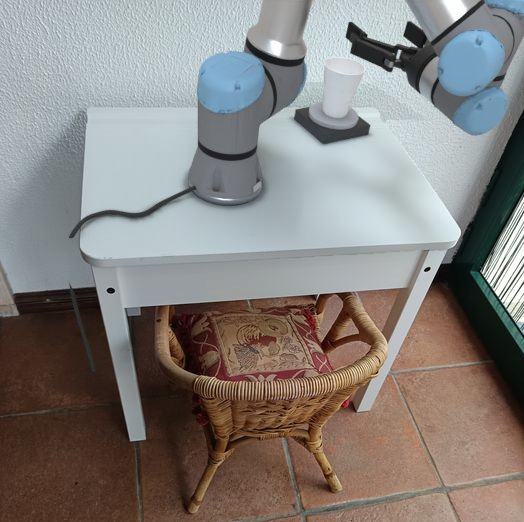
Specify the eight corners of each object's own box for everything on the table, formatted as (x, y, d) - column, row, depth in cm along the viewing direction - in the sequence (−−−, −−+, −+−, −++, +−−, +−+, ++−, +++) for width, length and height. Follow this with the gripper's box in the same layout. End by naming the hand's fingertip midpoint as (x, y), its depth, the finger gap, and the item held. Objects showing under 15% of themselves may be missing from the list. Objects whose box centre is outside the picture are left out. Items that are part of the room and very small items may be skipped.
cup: (353, 107, 123) (365, 60, 115) (354, 125, 117) (367, 77, 109) (315, 101, 123) (324, 53, 115) (313, 119, 117) (323, 70, 108)
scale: (323, 144, 117) (326, 130, 114) (294, 118, 123) (296, 105, 121) (368, 134, 122) (371, 121, 120) (337, 110, 129) (340, 97, 126)
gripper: (369, 100, 85) (319, 51, 97) (482, 93, 93) (423, 48, 105) (382, 54, 80) (327, 7, 91) (501, 49, 87) (436, 7, 99)
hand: (378, 29), depth 98 cm, fingers open, 13 cm apart
